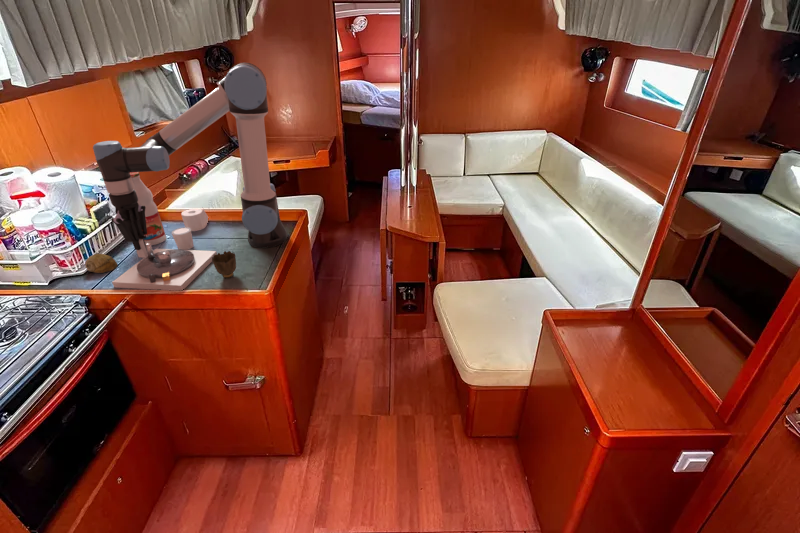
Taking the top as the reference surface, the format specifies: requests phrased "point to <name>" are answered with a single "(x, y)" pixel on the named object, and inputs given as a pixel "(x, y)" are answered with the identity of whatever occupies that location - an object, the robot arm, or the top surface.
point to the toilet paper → (195, 219)
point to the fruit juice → (149, 212)
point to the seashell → (100, 263)
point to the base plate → (176, 281)
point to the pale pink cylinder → (183, 238)
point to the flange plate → (165, 263)
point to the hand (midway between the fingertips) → (143, 256)
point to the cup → (225, 263)
